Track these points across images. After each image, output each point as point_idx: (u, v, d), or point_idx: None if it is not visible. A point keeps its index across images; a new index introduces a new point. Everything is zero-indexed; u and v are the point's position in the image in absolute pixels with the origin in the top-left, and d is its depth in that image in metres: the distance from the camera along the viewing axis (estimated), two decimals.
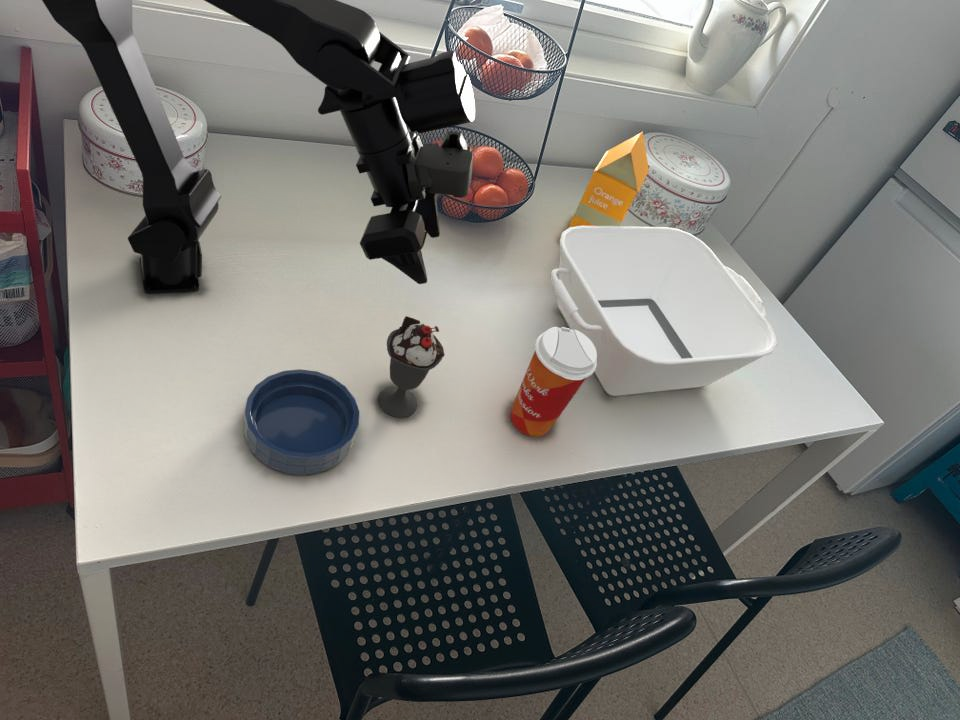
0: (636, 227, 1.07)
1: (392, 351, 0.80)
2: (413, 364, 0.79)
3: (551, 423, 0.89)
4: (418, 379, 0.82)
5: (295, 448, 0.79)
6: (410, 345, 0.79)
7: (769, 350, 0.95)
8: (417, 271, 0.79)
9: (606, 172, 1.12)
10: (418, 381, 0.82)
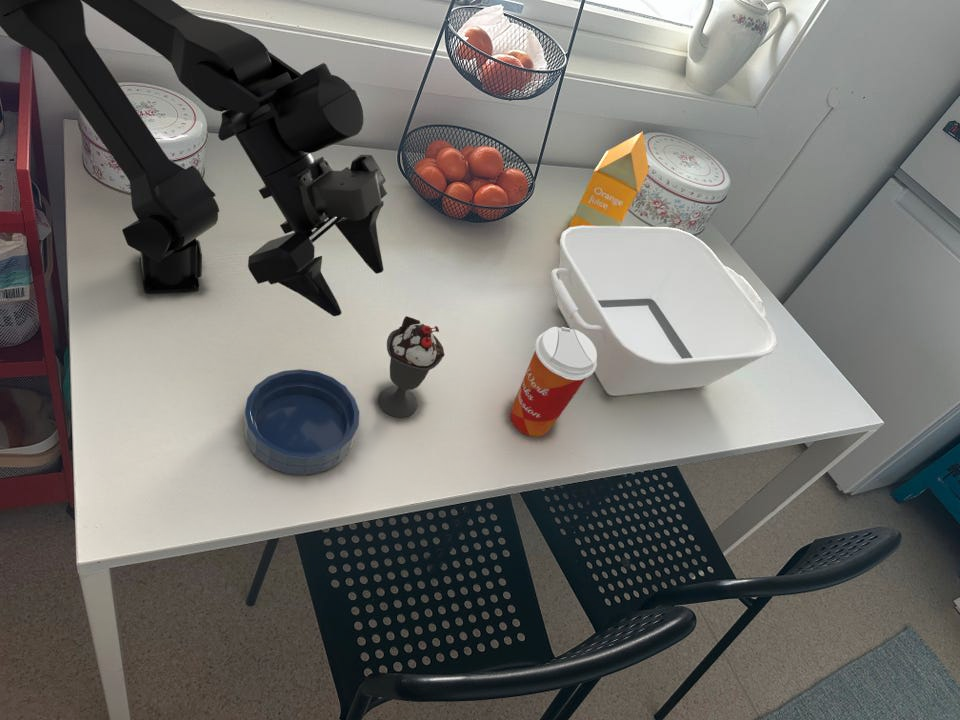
0: (636, 227, 1.07)
1: (392, 351, 0.80)
2: (413, 364, 0.79)
3: (551, 423, 0.89)
4: (418, 379, 0.82)
5: (295, 448, 0.79)
6: (410, 345, 0.79)
7: (769, 350, 0.95)
8: (324, 301, 0.74)
9: (606, 172, 1.12)
10: (418, 381, 0.82)
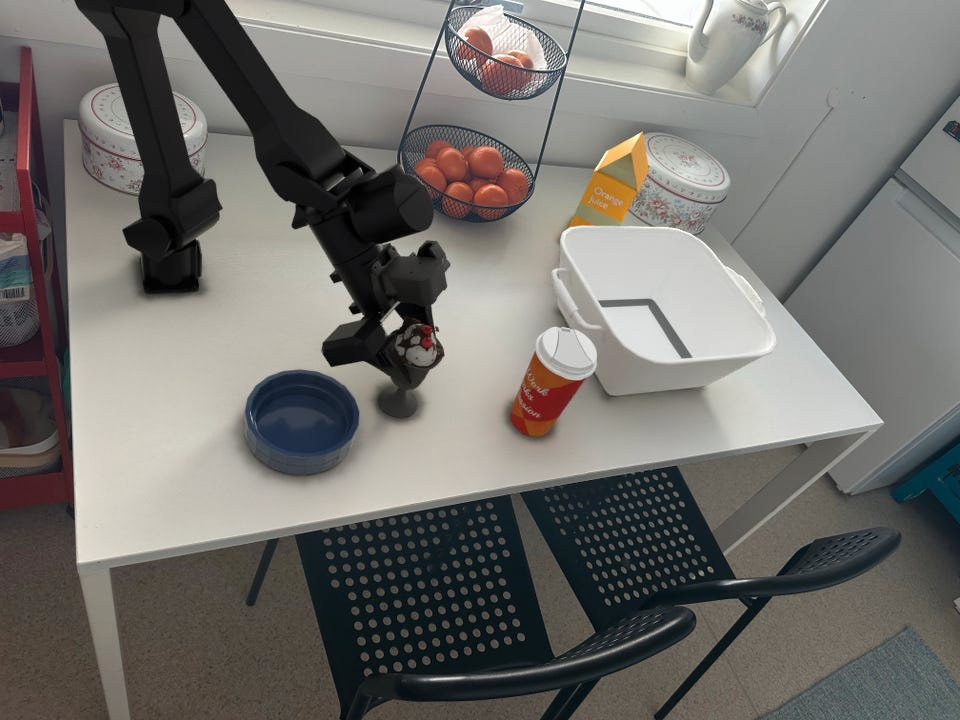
0: (636, 227, 1.07)
1: None
2: (413, 364, 0.79)
3: (551, 423, 0.89)
4: (418, 379, 0.82)
5: (295, 448, 0.79)
6: (411, 345, 0.79)
7: (769, 350, 0.95)
8: (397, 373, 0.78)
9: (606, 172, 1.12)
10: (418, 381, 0.82)
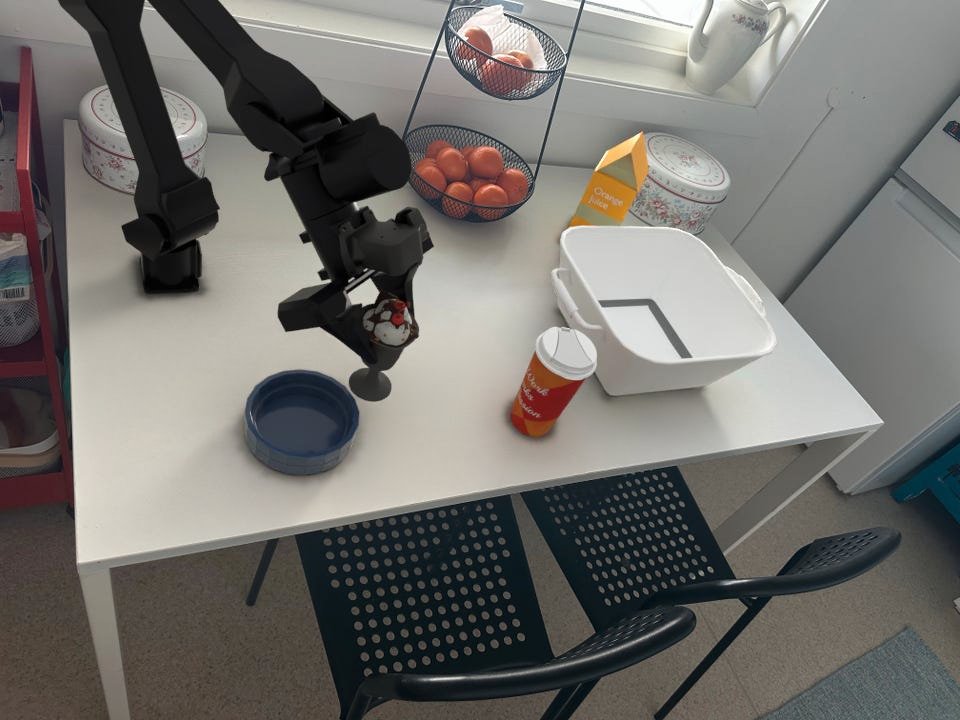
0: (636, 227, 1.07)
1: None
2: (381, 341, 0.72)
3: (551, 423, 0.89)
4: (388, 360, 0.75)
5: (295, 448, 0.79)
6: (380, 320, 0.72)
7: (769, 350, 0.95)
8: (361, 348, 0.72)
9: (606, 172, 1.12)
10: (388, 362, 0.75)
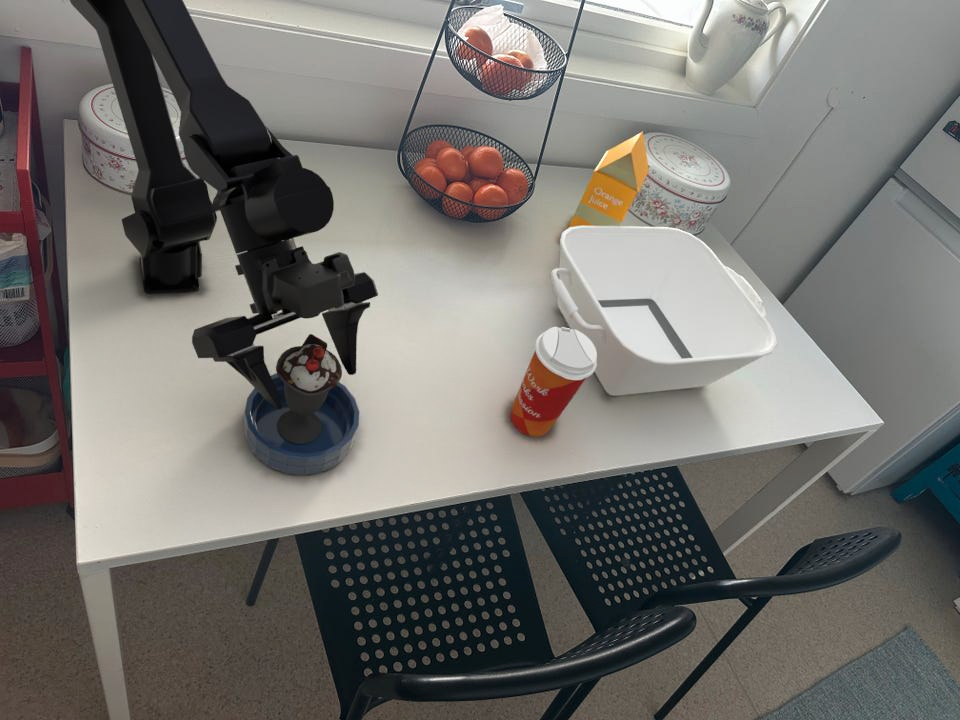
0: (636, 227, 1.07)
1: (281, 365, 0.73)
2: (294, 384, 0.72)
3: (551, 423, 0.89)
4: (305, 404, 0.74)
5: (295, 448, 0.79)
6: (297, 363, 0.72)
7: (769, 350, 0.95)
8: (264, 391, 0.70)
9: (606, 172, 1.12)
10: (306, 407, 0.75)
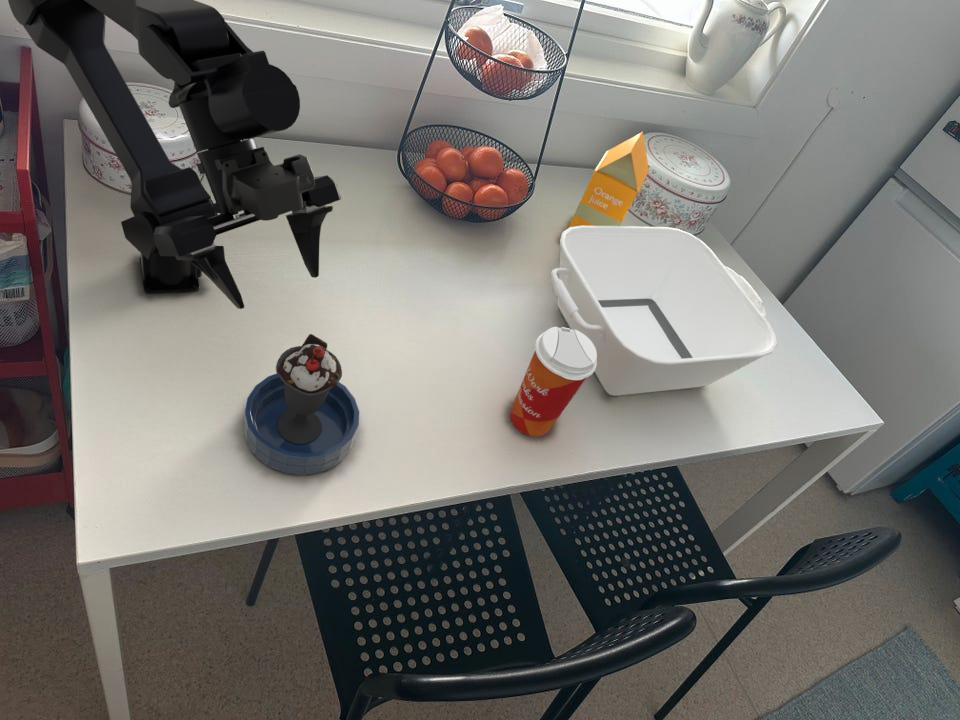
0: (636, 227, 1.07)
1: (281, 365, 0.73)
2: (294, 384, 0.72)
3: (551, 423, 0.89)
4: (305, 404, 0.74)
5: (295, 448, 0.79)
6: (297, 363, 0.72)
7: (769, 350, 0.95)
8: (226, 291, 0.72)
9: (606, 172, 1.12)
10: (306, 407, 0.75)
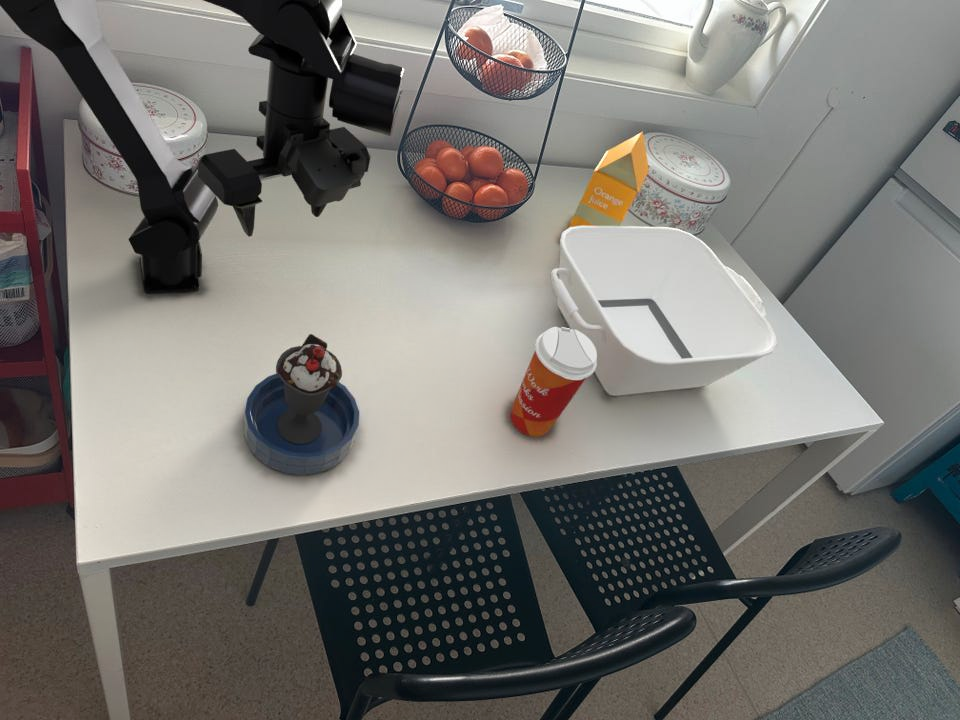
0: (636, 227, 1.07)
1: (281, 365, 0.73)
2: (294, 384, 0.72)
3: (551, 423, 0.89)
4: (305, 404, 0.74)
5: (295, 448, 0.79)
6: (297, 363, 0.72)
7: (769, 350, 0.95)
8: (243, 221, 0.79)
9: (606, 172, 1.12)
10: (306, 407, 0.75)
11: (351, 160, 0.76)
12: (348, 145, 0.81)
